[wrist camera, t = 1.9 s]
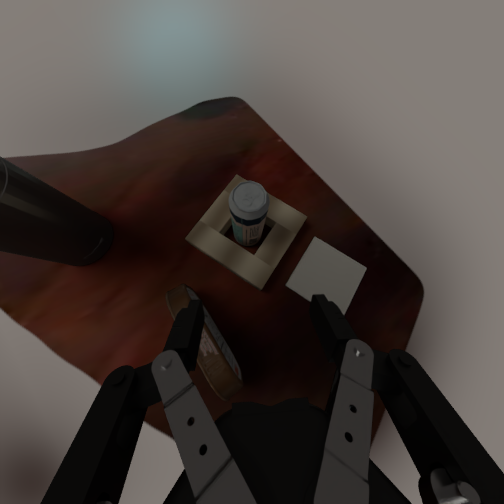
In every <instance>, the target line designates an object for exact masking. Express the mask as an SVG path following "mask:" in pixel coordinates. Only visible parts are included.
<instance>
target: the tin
mask: <svg viewBox="0 0 504 504" xmlns="http://www.w3.org/2000/svg"><path fill="white" fill-rule="evenodd" d="M197 299H200V298H199V297H198V295H197V294H196V293H195V292H194V290H193V289H192V288H191V287H189V286H187V285H185V284H181V285H179V286H178V287H176V288H174V289H173V290H171V291H168V292H167V293H166V302H167V305H168V308H169V310H170V313H171V315H172V317H173V319H174V321H175V318H176V315H177V313H178V312H179V311H180V310H181V309H182V308H187V307H188V304H189V301H190V300H197ZM202 304H203V303H202ZM203 309H204V314H205V321H204V327H203V332H202V337H201V342H200V347H199V352H198V357H197V363H198V364H199V366H200V368H201V370H202V372H203V374H204V375H205V377H206V379H207V381H208V383H209V384H210V386H211V387H212V389H213V390H214V391H215V393H216V394H217V395H218V396H219V397H220V398H221V399H222V400H223V401H228V400H229V399H230V397H231V396H233V395H234V394H235V393H236V392H237V391H239V390H240V389H241V388H242V387H243V379H242V372H241V369H240V367H239V365H238V362H237V360H236V358H235V356H234V355H233V353H232V351H231V349H230V348H229V346H228V344H227V343H226V341H225V339H224V337H223V336H222V334H221V332H220V330H219V329H218V327H217V325H216V324H215V322H214V320H213V319H212V317H211V315H210V314H209V312H208V311H207V309H206V307H205V306H204V304H203Z"/></svg>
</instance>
